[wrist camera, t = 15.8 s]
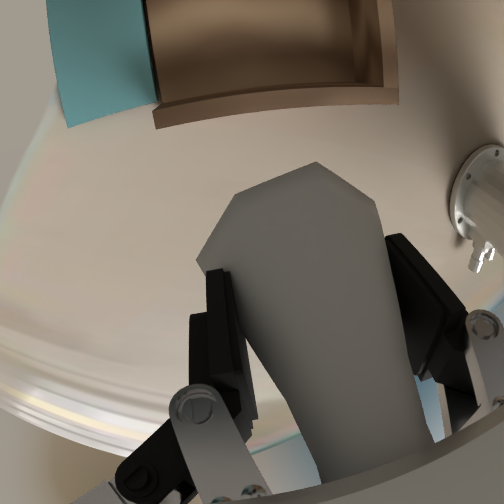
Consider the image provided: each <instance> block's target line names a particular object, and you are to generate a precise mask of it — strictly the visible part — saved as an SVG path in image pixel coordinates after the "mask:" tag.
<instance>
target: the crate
mask: <svg viewBox="0 0 504 504" xmlns="http://www.w3.org/2000/svg"><path fill="white" fill-rule="evenodd" d="M146 4H147V11H148V18H149V25H150V32H151V39H152V45H153V51H154V57H155V63H156V69H157V75H158V81H159V86H160V92H161V97H162V102H163V103H162V104H161V105H160V106H158V107H157V108H156V109H154V110H153V111H152V113H153V118H154V123H155V127H156V129H161V128H165V127H170V126H175V125H179V124H184V123H189V122H194V121H200V120H205V119H211V118H217V117H223V116H230V115H236V114H243V113H251V112H259V111H267V110H276V109H286V108H297V107H311V106H327V105H354V104H395V105H399V88H398V61H397V46H396V34H395V23H394V14H393V6H392V0H146Z"/></svg>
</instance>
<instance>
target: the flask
mask: <svg viewBox="0 0 504 504" xmlns="http://www.w3.org/2000/svg"><path fill="white" fill-rule="evenodd" d="M196 261H197V263H198V264H199V266H200V268H201V270H202V271H203V273H204V275H205V276H206V271H209V270H214V269H220V268H223V270H224V272H228V271H230V275H231V281H232V287H233V293H234V299H235V305H236V310H237V316H238V322H239V327H240V330H241V331H242V333H243V335H244V336H245V338H246V339H247V341H248V343H249V344H250V346H251V347H252V349H253V350H254V352H255V354H256V355H257V357H258V358H259V360H260V361H261V363H262V365H263V366H264V368H265V369H266V371H267V372H268V374H269V375H270V377H271V379H272V380H273V382H274V383H275V385H276V386H277V388H278V389H279V391H280V392H281V394H282V395H283V397H284V398H285V400H286V401H287V404H288V406H289V408H290V410H291V412H292V414H293V417H294V419H295V421H296V423H297V425H298V427H299V429H300V432H301V434H302V436H303V438H304V440H305V442H306V444H307V446H308V448H309V450H310V452H311V455H312V457H313V459H314V461H315V463H316V465H317V469H318V472H319V476H320V479H321V483H322V484H325V483H329V482H332V481H336V480H340V479H343V478H346V477H350V476H353V475H356V474H359V473H362V472H365V471H368V470H371V469H374V468H377V467H380V466H382V465H385V464H388V463H390V462H393V461H396V460H398V459H401V458H403V457H405V456H408V455H410V454H413V453H415V452H417V451H419V450H422V449H424V448H426V447H428V446H430V445H432V444H435V443H434V440H433V438H432V435H431V433H430V431H429V429H428V426H427V424H426V420H425V416H424V412H423V408H422V404H421V400H420V396H419V393H418V389H417V386H416V382H415V378H414V375H413V371H412V368H411V365H410V362H409V358H408V353H407V347H406V341H405V335H404V329H403V324H402V318H401V313H400V308H399V303H398V298H397V294H396V289H395V285H394V280H393V276H392V271H391V266H390V261H389V257H388V252H387V247H386V243H385V238H384V234H383V230H382V225H381V221H380V218H379V214H378V211H377V208H376V204H375V201H373V200H372V199H371V198H369V197H368V196H367V195H365V194H364V193H362V192H361V191H359V190H358V189H357V188H355V187H354V186H352V185H351V184H349V183H348V182H346V181H345V180H344V179H342V178H341V177H339V176H338V175H336V174H335V173H333V172H332V171H330V170H329V169H327V168H326V167H324V166H322V165H321V164H319V163H318V162H314V163H311V164H309V165H306V166H303V167H301V168H298V169H296V170H293V171H291V172H288V173H286V174H283V175H281V176H278V177H276V178H273V179H271V180H268V181H266V182H263V183H261V184H259V185H256V186H254V187H251V188H249V189H247V190H244V191H242V192H240V193H237V194H235V195H234V197H233V198H232V200H231V202H230V203H229V205H228V207H227V208H226V210H225V212H224V213H223V215H222V217H221V218H220V220H219V222H218V223H217V225H216V227H215V228H214V230H213V232H212V233H211V235H210V237H209V238H208V240H207V242H206V243H205V245H204V247H203V248H202V250H201V252H200V254H199V255H198V257H197V259H196Z"/></svg>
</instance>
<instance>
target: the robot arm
mask: <svg viewBox="0 0 504 504" xmlns="http://www.w3.org/2000/svg"><path fill="white" fill-rule="evenodd" d="M450 217H451V222H452V224H453V226H454V228H455V230H456V231H457V232H458V233H459V234H460V235H461V236H463V237H464V238H466V239H468V240H473V244H472V245H473V247H474V251H473V253H472V255H471V258H470V262H469V265H468V267H469V269H470V270H471V271H473V272H479V271H480V270H481V267H482V265H483V262H484V256H485V258H487V259H489V260H492V259H493V257H494V254H495V250H496V251H497V252H498V253H499V254H500V255H501V256H502V257H503V258H504V148H503V147H500V146H498V145H494V144H489V145H485V146H482V147H480V148H479V149H477V150H476V151H475V152H473V153H472V154H471V155H470V157H469V158H468V159H467V160H466V161H465V163H464V164H463V166H462V167H461V169H460V171H459V173H458V175H457V177H456V180H455V183H454V185H453V189H452V193H451V199H450ZM385 243H386V247H387V252H388V257H389V261H390V266H391V271H392V276H393V280H394V285H395V289H396V294H397V298H398V303H399V308H400V313H401V318H402V324H403V329H404V335H405V341H406V347H407V353H408V358H409V362H410V365H411V368H412V371H413V374H414V375H418V377H419V379H420V381H421V382H422V381H424V380H427V379H429V378H431V377H433V378H434V380H435V382H437V389H438V394H439V400H440V406H441V412H442V418H443V424H444V433H445V439H443V440H441V441H439V442H437V443H435V444H432V445H430V446H428V447H426V448H424V449H422V450H419V451H417V452H415V453H413V454H410V455H408V456H405V457H403V458H401V459H398V460H396V461H393V462H390V463H388V464H385V465H382V466H380V467H377V468H374V469H371V470H368V471H365V472H362V473H359V474H356V475H353V476H350V477H346V478H343V479H340V480H336V481H332V482H329V483H325V484H321V485H317V486H313V487H309V488H305V489H300V490H296V491H290V492H285V493H280V494H275V495H273V494H272V492H271V490H270V489H269V487H268V486H267V484H266V482H265V480H264V478H263V476H262V475H261V473H260V471H259V469H258V467H257V466H256V464H255V462H254V460H253V458H252V456H251V454H250V453H249V451H248V449H247V447H246V445H245V443H246V442H247V440H248V439H249V438H250V437H251V436H252V432H251V429H253V423H252V420H256V419H258V413H257V407H256V401H255V395H254V389H253V383H252V377H251V370H250V364H249V358H248V351H247V345H246V339H245V336H244V335H243V333H242V331H241V330H240V327H239V322H238V316H237V310H236V305H235V299H234V293H233V287H232V281H231V275H230V271H228V272H224V270H223V268H220V269H214V270H209V271H206V303H207V312H203V313H197V314H191V315H190V319H189V386H186V387H184V388H182V389H180V390H179V391H178V392H177V393H176V394H175V395H174V396H173V398H172V399H171V401H170V405H169V416H170V418H169V419H168V420H167V421H166V422H165V423H164V424H163V425H162V426H161V427H160V428H159V429H158V430H157V431H155V432H154V433H153V434H152V435H151V436H150V437H149V438H148V439H147V440H146V441H145V442H144V443H143V444H142V445H140V446H139V447H138V448H137V449H136V450H135V451H134V452H133V453H132V454H131V455H130V456H128V457H127V458H126V459H125V460H124V461H123V462H122V463H121V464H120V465H119V467H118V468H117V471H116V473H115V477H114V478H113V479H112V480H110V481H107V480H105V481H103V482H102V483H101V484H99V485H98V486H96V487H95V488H93V489H92V490H90V491H89V492H87V493H86V494H85V495H83V496H81V497H80V498H78V499H77V500H75V501H74V502H72V503H71V504H188V503H189V502H190V501H191V500H192V499H193V498H194V497H195V496H196V495H197V494H198V493H199V495H200V498H201V500H202V502H203V504H504V328H503V325H502V323H501V322H500V320H499V318H498V317H496V316H495V315H494V314H493V313H491V312H489V311H486V310H480V309H478V310H474V311H472V312H470V313H469V314H468V312H467V311H466V310H465V309H466V308H465V306H464V305H463V304H462V302H461V301H460V300H459V299H458V297H457V296H456V295H455V294H454V292H453V291H452V290H451V289H450V287H449V286H448V285H447V284H446V283H445V281H444V280H443V279H442V278H441V277H440V275H439V274H438V273H437V272H436V271H435V270H434V268H433V267H432V266H431V265H430V264H429V263H428V262H427V260H426V259H425V258H424V257H423V256H422V255H421V254H420V253H419V251H418V250H417V249H416V248H415V247H414V246H413V245H412V244H411V243H410V242H409V241H408V239H407V238H406V237H405V236H404V235H403V234H401V233H397V234H392V235H388V236H386V237H385Z"/></svg>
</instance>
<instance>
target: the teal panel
mask: <svg viewBox="0 0 504 504" xmlns="http://www.w3.org/2000/svg"><path fill="white" fill-rule="evenodd" d="M46 5H47V15H48V25H49V34H50V42H51V49H52V55H53V61H54V67H55V73H56V78H57V83H58V88H59V93H60V98H61V102H62V107H63V111H64V115H65V119H66V124H67V127H68V128H71V127H73V126H76V125H79V124H82V123H85V122H88V121H91V120H94V119H97V118H100V117H103V116H107V115H110V114H113V113H117V112H120V111H124V110H127V109H131V108H135V107H138V106H142V105H146V104H150V103H154V102H157V101H159V99H158V94H157V89H156V83H155V77H154V72H153V66H152V60H151V54H150V48H149V42H148V35H147V28H146V22H145V14H144V7H143V0H46Z"/></svg>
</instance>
